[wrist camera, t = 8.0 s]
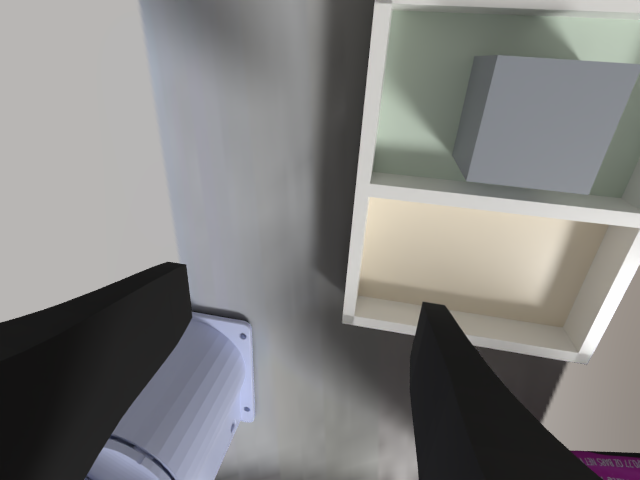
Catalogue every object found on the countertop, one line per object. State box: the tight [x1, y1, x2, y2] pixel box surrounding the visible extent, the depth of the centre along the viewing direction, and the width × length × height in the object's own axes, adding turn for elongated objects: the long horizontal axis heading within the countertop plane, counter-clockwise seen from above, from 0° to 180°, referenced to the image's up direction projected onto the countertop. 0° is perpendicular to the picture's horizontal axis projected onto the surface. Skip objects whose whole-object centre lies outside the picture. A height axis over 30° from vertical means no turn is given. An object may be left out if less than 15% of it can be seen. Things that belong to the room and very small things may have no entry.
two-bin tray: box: [342, 0, 640, 365], centre depth 16 cm, size 15×12×2 cm
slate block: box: [452, 55, 640, 195], centre depth 14 cm, size 4×4×4 cm
